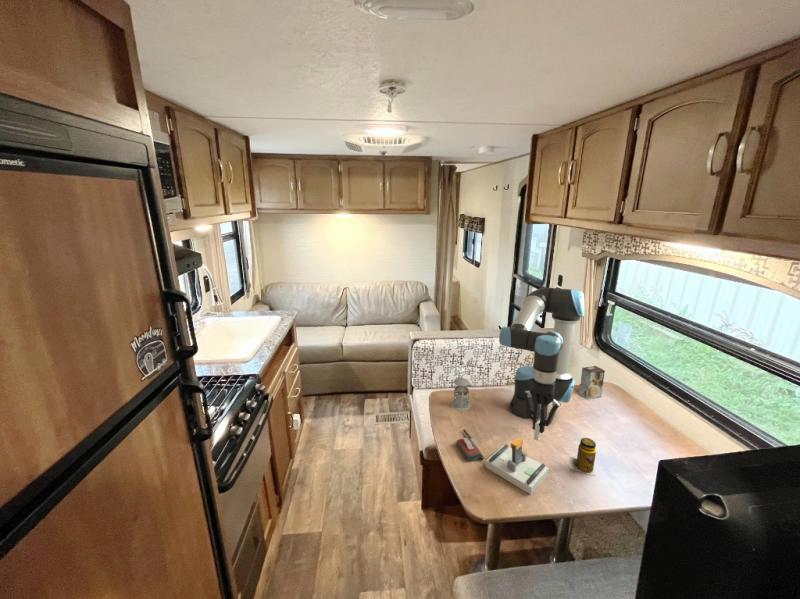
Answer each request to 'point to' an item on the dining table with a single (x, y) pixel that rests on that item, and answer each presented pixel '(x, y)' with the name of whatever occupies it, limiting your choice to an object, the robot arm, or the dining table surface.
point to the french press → (461, 400)
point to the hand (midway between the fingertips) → (537, 438)
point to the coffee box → (591, 382)
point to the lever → (517, 450)
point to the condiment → (584, 457)
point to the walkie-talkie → (469, 448)
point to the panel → (517, 469)
